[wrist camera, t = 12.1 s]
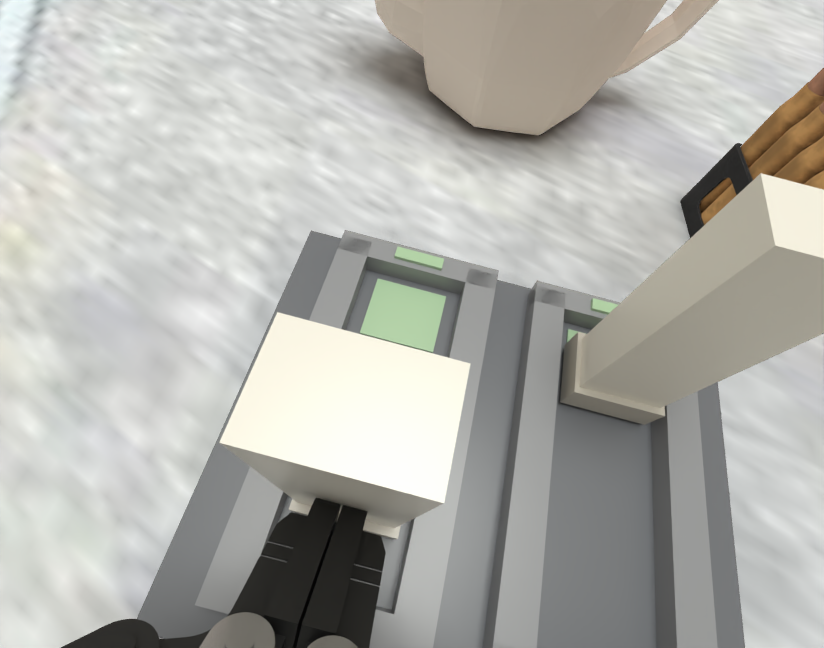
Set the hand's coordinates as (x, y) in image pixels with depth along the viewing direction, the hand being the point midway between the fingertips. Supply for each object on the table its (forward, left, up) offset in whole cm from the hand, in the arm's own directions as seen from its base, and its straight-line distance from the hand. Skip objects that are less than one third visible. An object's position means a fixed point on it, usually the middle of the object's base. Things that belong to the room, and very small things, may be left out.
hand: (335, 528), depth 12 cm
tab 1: (0, -2, -5) cm, 5 cm away
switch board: (-5, -5, -7) cm, 10 cm away
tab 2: (-10, -9, -5) cm, 14 cm away
